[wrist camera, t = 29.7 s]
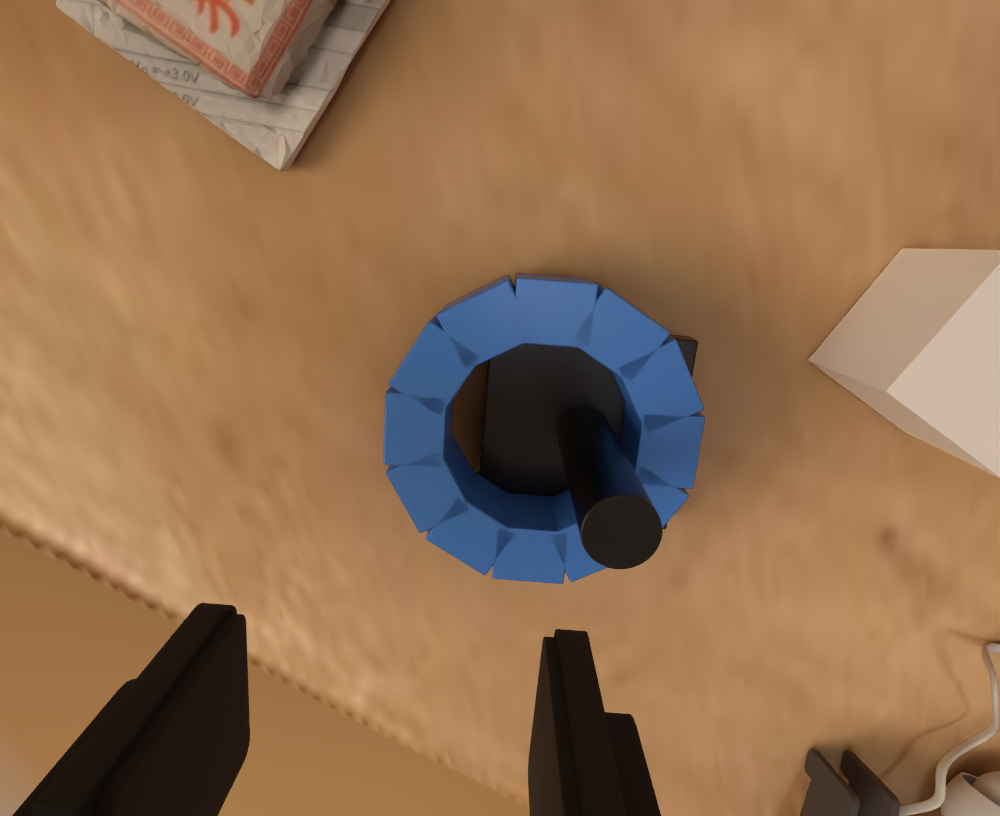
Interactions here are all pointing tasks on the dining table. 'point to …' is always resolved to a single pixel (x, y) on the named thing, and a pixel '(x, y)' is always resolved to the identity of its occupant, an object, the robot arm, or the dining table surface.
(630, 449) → the tape
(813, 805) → the clip-on lamp
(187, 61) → the packaged product
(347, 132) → the dining table surface
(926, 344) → the white cube
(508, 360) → the peg stand
